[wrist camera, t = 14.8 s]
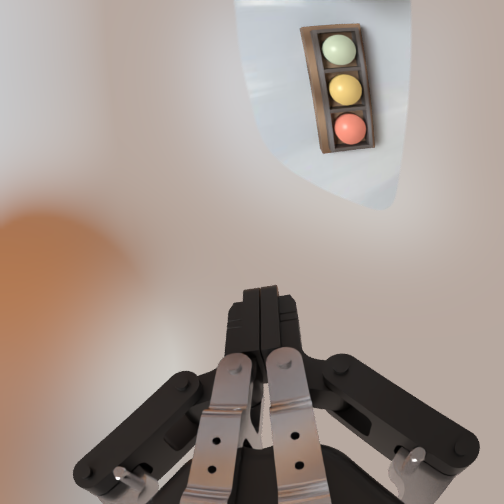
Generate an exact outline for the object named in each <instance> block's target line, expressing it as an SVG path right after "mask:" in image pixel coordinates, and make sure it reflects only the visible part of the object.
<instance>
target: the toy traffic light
mask: <svg viewBox="0 0 504 504" xmlns="http://www.w3.org/2000/svg"><path fill="white" fill-rule="evenodd" d="M300 32H301V37H302V42H303V47H304V52H305V57H306V62H307V68H308V73H309V79H310V85H311V90H312V96H313V103H314V109H315V115H316V122H317V129H318V136H319V143H320V149H321V151H322V152H323V154H324V153H332V152H339V151H347V150H356V149H365V148H374V147H375V142H374V128H373V117H372V106H371V97H370V88H369V80H368V73H367V66H366V59H365V52H364V46H363V40H362V34H361V29H360V24H335V25H321V26H310V27H302V28H300ZM333 35H344V36H346V37H348V38H349V39H351V40H352V42H353V43H354V45H355V48H356V55H355V57H354V59H353V60H352V61H351V62H350V63H348V64H346V65H336V64H332V63H330V62H328V61H327V60H326V59H325V58H324V57H323V55H322V52H321V45H322V43H323V41H324V40H325V39H326V38H328V37H330V36H333ZM338 74H346V75H350V76H353V77H354V78H356V79H357V80H358V81H359V83H360V85H361V88H362V94H361V97H360V99H359V100H358V101H357V102H356V103H354V104H352V105H342V104H340V103H338V102H336V101H335V100H333V99H332V98H331V96H330V95H329V92H328V83H329V81H330V79H331V78H332V77H334V76H335V75H338ZM344 112H350V113H354V114H355V115H357V116H358V117H360V118H361V119H362V120H363V121H364V123H365V126H366V133H365V136H364V138H363V139H362V140H361V141H360V142H358V143H356V144H346V143H344V142H342V141H341V140H340V139H339V138H338V136H337V135H336V134H335V132H334V129H333V124H334V120H335V119H336V117H337V116H338V115H340V114H342V113H344Z"/></svg>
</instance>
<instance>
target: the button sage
mask: <svg viewBox="0 0 504 504" xmlns="http://www.w3.org/2000/svg"><path fill="white" fill-rule="evenodd" d="M321 52H322V55H323V57H324V58H325V59H326V60H327V61H328V62H330V63H332V64H336V65H346V64H348V63H350V62H351V61H352V60H353V59H354V57H355V55H356V48H355V45H354V43H353V42H352V40H351V39H349V38H348V37H346V36H344V35H333V36H330V37H328V38H326V39H325V40H324V41H323V43H322V45H321Z"/></svg>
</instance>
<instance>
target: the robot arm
mask: <svg viewBox="0 0 504 504" xmlns="http://www.w3.org/2000/svg"><path fill="white" fill-rule="evenodd" d="M264 383H268V386H269V394H270V404H271V407H270V421H271V430H272V439H273V446H271V447H267V448H264V449H263V448H262V440H261V433H262V420H263V409H264V396H263V384H264ZM313 408H319V409H326V411H327V412H328V413H329V414H330V415H332V416H333V417H334V418H335V419H337V420H338V421H339V422H340V423H342V424H343V425H344V426H346V427H347V428H348V429H349V430H351V431H352V432H353V433H355V434H356V435H357V436H359V437H360V438H361V439H362V440H364V441H365V442H367V443H368V444H369V445H370V446H372V447H373V448H374V449H376V450H377V451H379V452H380V453H381V454H383V455H384V456H385V457H387V458H388V459H389V460H391V461H392V462H391V464H390V466H389V470H388V474H389V478H390V480H391V481H392V482H393V483H394V484H395V485H396V487H397V489H398V493H399V496H398V498H397V497H396V496H395V495H394V494H392V493H391V492H390V491H388V490H387V489H386V488H385V487H383V486H382V485H381V484H380V483H379V482H377V481H376V480H375V479H374V478H372V477H371V476H370V475H369V474H368V473H366V472H365V471H364V470H363V469H362V468H361V467H359V466H358V465H357V464H356V463H355V462H354V461H352V460H351V459H350V458H349V457H348V456H347V455H345V454H344V453H342V452H341V451H339V450H337V449H335V448H332V447H330V446H326V445H321V444H320V441H319V436H318V431H317V426H316V421H315V416H314V411H313ZM194 445H195V449H194V454H193V458H192V459H190V460H189V461H188V462H187V463H185V465H183V466H182V467H181V468H180V470H178V472H177V473H176V474H175V475H174V476H173V477H172V478H171V479H170V480H169V481H168V482H167V483H166V484H165V485H164V486H163V487H162V488H161V489H160V490H159V491H158V488H159V485H158V480H159V479H161V477H163V476H164V475H165V474H166V473H167V472H168V471H169V470H170V469H171V468H172V467H173V466H174V465H175V464H176V463H177V462H178V461H179V460H180V459H181V458H182V457H183V456H184V455H185V454H186V453H187V452H188V451H189V450H190V449H191V448H192V447H193V446H194ZM479 449H480V445H479V441H478V439H477V437H476V436H475V435H474V434H473V433H472V432H470V431H468V430H467V429H465V428H463V427H462V426H460V425H459V424H457V423H455V422H454V421H452V420H451V419H449V418H447V417H446V416H444V415H442V414H441V413H439V412H438V411H436V410H435V409H433V408H431V407H430V406H428V405H427V404H425V403H423V402H422V401H420V400H419V399H417V398H416V397H414V396H413V395H411V394H409V393H408V392H406V391H405V390H403V389H402V388H400V387H399V386H397V385H396V384H394V383H392V382H391V381H389V380H387V379H386V378H385V377H383V376H382V375H380V374H379V373H377V372H376V371H374V370H372V369H371V368H370V367H368V366H367V365H365V364H363V363H362V362H360V361H359V360H357V359H356V358H354V357H353V356H351V355H348V354H336V355H333V356H331V357H329V358H328V359H327V360H318V359H314V358H311V357H309V356H307V355H306V354H305V353H304V352H303V350H302V343H301V335H300V327H299V320H298V314H297V308H296V302H295V300H294V299H293V298H292V297H291V295H284V296H279V292H278V287H277V285H273V286H267V287H261V289H260V288H254V289H247V290H244V291H243V302H236V303H233V306H232V307H231V308H230V310H229V313H228V323H227V333H226V344H225V355H224V358H222V359H221V360H220V362H219V364H218V366H217V368H216V369H214V370H212V371H210V372H208V373H205V374H202V375H199V376H197V375H196V374H195V373H193V372H190V371H182V372H179V373H176V374H175V375H173V376H172V377H171V378H170V379H169V380H168V381H167V382H166V383H164V384H163V385H162V386H161V387H160V388H159V389H158V390H157V391H156V392H155V393H154V394H153V395H152V396H151V397H149V398H148V399H147V400H146V401H145V402H144V403H143V404H142V405H141V406H140V407H139V408H138V409H136V410H135V411H134V412H133V413H132V414H131V415H130V416H129V417H128V418H127V419H126V420H124V421H123V422H122V423H121V424H120V425H119V426H118V427H117V428H116V429H115V430H113V431H112V432H111V433H110V434H109V435H108V436H107V437H106V438H105V439H103V440H102V441H101V442H100V443H99V444H98V445H97V446H96V447H94V448H93V449H92V450H91V451H90V452H89V453H88V454H86V455H85V456H84V457H83V458H82V459H81V460H80V461H79V462H78V463H77V464H76V465H75V467H74V470H73V478H74V480H75V482H76V484H77V485H78V486H80V487H81V488H83V489H85V490H87V491H89V492H90V493H92V494H93V495H95V496H97V497H98V498H99V499H100V501H101V502H102V503H103V504H434V503H435V501H436V500H437V499H438V498H439V497H440V495H441V494H442V493H443V492H444V490H445V489H446V488H447V486H448V485H449V484H450V482H451V481H452V480H453V479H454V478H455V477H456V476H457V475H459V474H460V473H461V472H462V471H463V470H465V469H466V468H467V467H468V466H469V465H470V464H471V463H473V462H474V461H475V459H476V458H477V456H478V454H479Z"/></svg>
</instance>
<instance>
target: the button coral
mask: <svg viewBox="0 0 504 504" xmlns="http://www.w3.org/2000/svg"><path fill="white" fill-rule="evenodd" d="M333 129H334V132H335V134H336V135H337V136H338V138H339V139H340V140H341V141H342V142H344V143H346V144H356V143H358V142H360V141H361V140H362V139H363V138H364V136H365V133H366V126H365V123H364V121H363V120H362V119H361V118H360V117H358V116H357V115H355V114H354V113H350V112H344V113H342V114H340V115H338V116H337V117H336V119H335V120H334V124H333Z"/></svg>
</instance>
